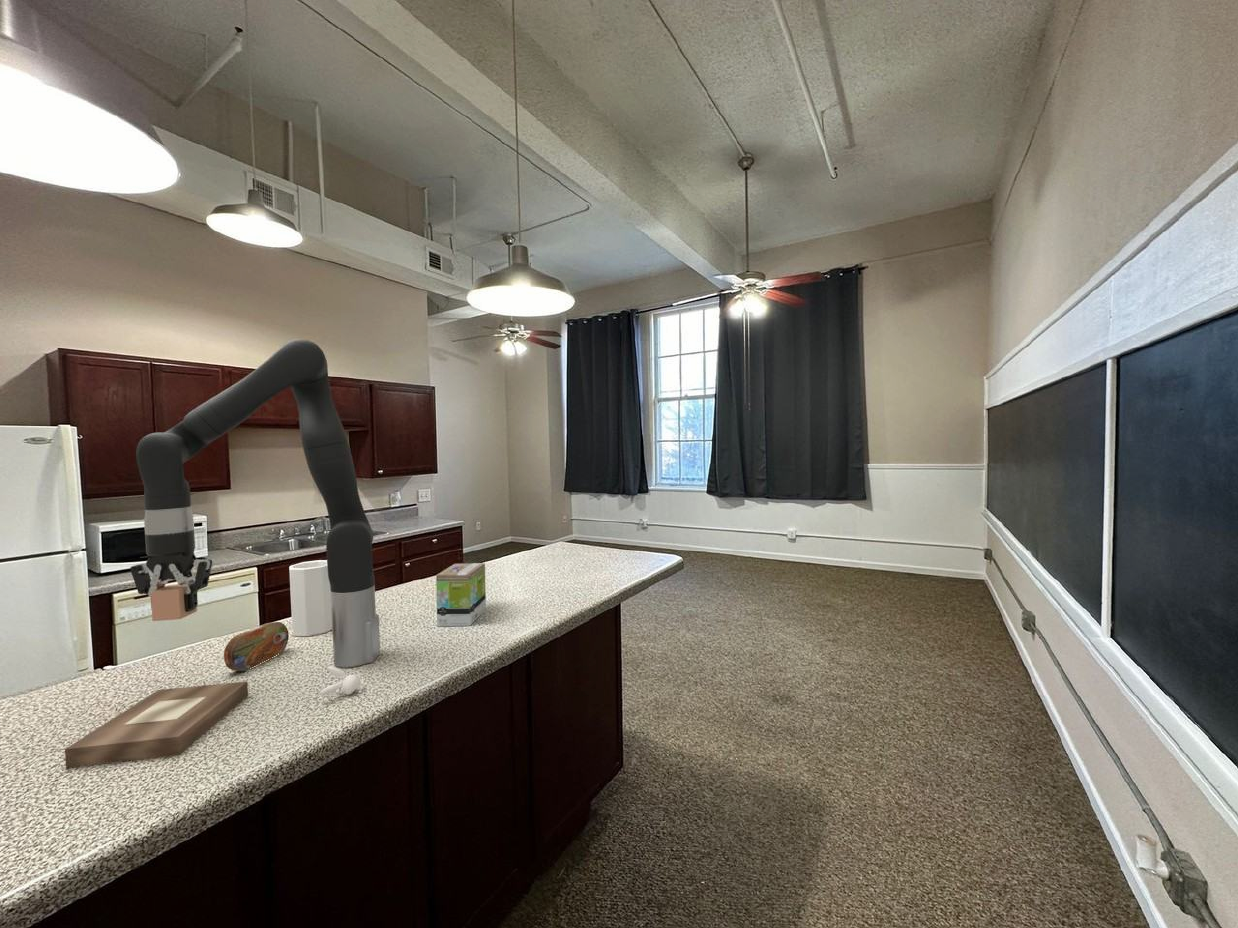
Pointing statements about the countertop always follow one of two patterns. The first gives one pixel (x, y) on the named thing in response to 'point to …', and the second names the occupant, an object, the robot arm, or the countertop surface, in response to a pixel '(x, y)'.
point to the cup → (310, 598)
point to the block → (169, 603)
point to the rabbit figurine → (343, 682)
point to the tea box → (460, 594)
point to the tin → (256, 646)
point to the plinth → (158, 725)
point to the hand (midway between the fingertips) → (175, 611)
